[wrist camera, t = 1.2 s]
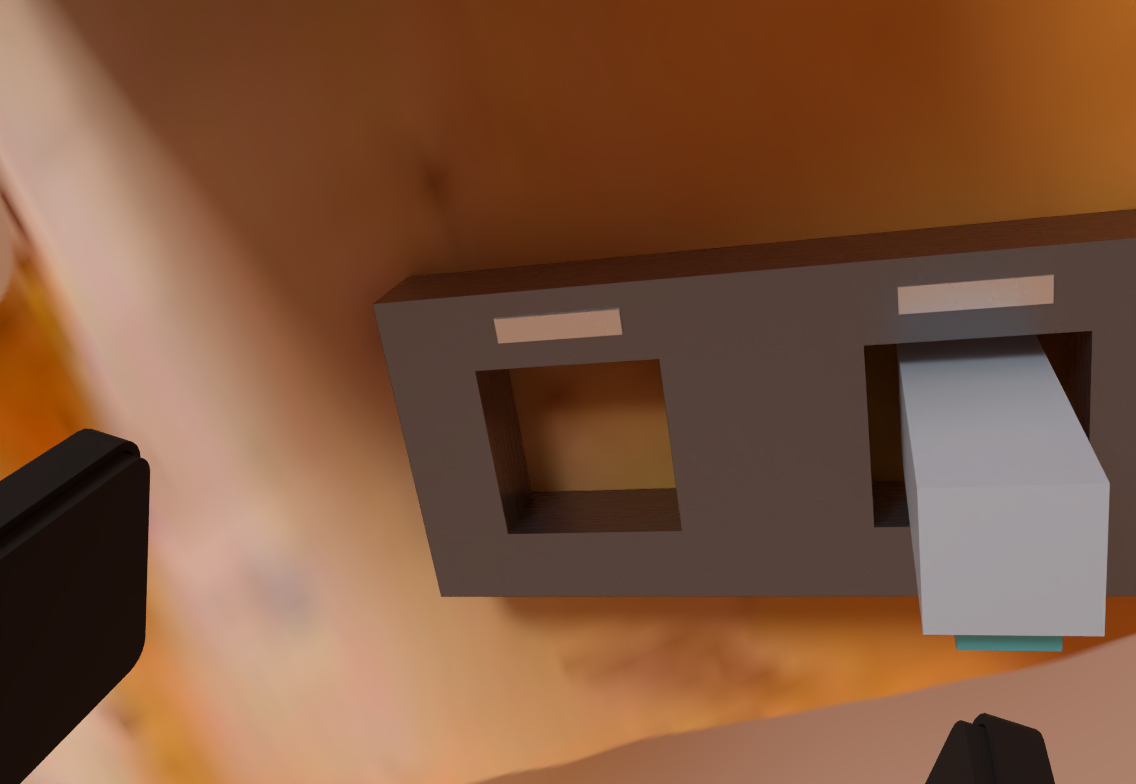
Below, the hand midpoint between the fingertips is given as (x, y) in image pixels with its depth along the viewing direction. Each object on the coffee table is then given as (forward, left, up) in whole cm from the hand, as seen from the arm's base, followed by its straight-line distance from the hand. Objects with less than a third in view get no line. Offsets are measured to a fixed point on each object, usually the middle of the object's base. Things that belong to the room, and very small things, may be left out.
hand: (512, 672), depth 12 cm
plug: (-7, +7, -23) cm, 25 cm away
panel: (-1, +7, -23) cm, 24 cm away
